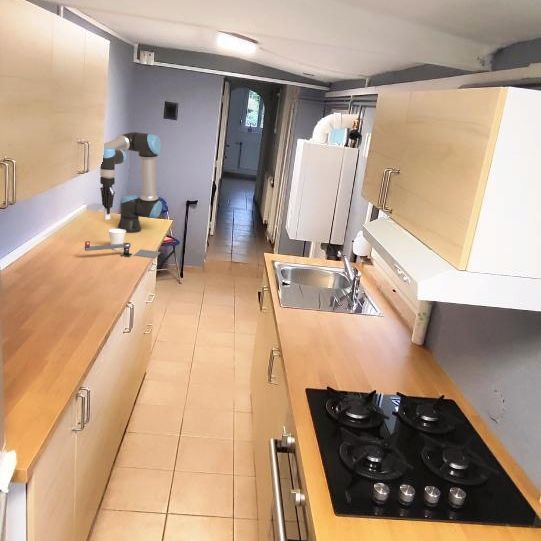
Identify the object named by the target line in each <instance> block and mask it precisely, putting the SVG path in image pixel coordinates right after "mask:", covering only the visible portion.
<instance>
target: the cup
mask: <svg viewBox="0 0 541 541" xmlns="http://www.w3.org/2000/svg"><path fill="white" fill-rule="evenodd" d="M107 231H108V233H109V242H110V245H112V244H123V243H125V237H126V233H127V232H126V230H123V229H118V228H110V229H108V230H107ZM112 250H113V251H121V250H123V248H115V249H112Z"/></svg>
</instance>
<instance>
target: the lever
mask: <svg viewBox="0 0 541 541" xmlns="http://www.w3.org/2000/svg"><path fill="white" fill-rule="evenodd" d="M90 242H91V241H89V240H86V241H84V251H86V252H90V251H91V252H92V251H102V250H113V249H115V248H122V249H124V248H129V249H130V248H131V246H132V245H131V243H130V242H124V243H123V244H112V245H111V244H103V245H92V246H91V243H90Z"/></svg>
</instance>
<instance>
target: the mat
mask: <svg viewBox="0 0 541 541" xmlns="http://www.w3.org/2000/svg"><path fill="white" fill-rule="evenodd" d="M160 254H161V251H155V250H149V249H148V250H147V249H139V250H138V251H137V252H136V253H135V254H134V255H133V256H134V257H140V258H141V257H143V258H149V259H156V258H157V257H158V256H159V255H160Z"/></svg>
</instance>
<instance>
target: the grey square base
mask: <svg viewBox="0 0 541 541" xmlns="http://www.w3.org/2000/svg"><path fill="white" fill-rule="evenodd" d="M119 256H120V257H123V256H124V257H125V258H131V257H132V256H133V253H130V248H123V252H122V253H121V254H120V255H119Z"/></svg>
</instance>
